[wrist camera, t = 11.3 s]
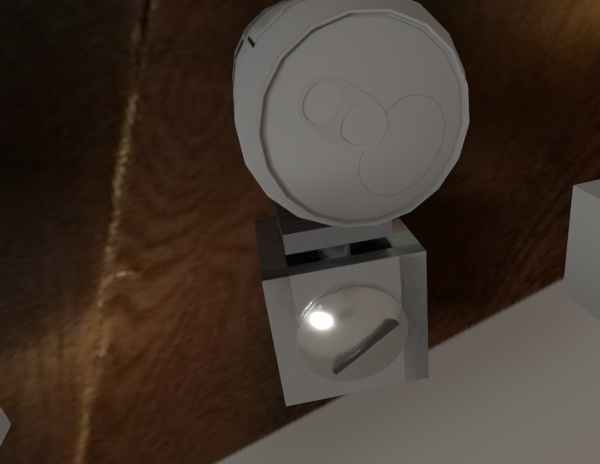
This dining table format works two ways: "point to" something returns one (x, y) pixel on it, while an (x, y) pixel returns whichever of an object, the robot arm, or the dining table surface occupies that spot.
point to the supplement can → (349, 107)
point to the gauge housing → (346, 314)
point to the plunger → (323, 235)
